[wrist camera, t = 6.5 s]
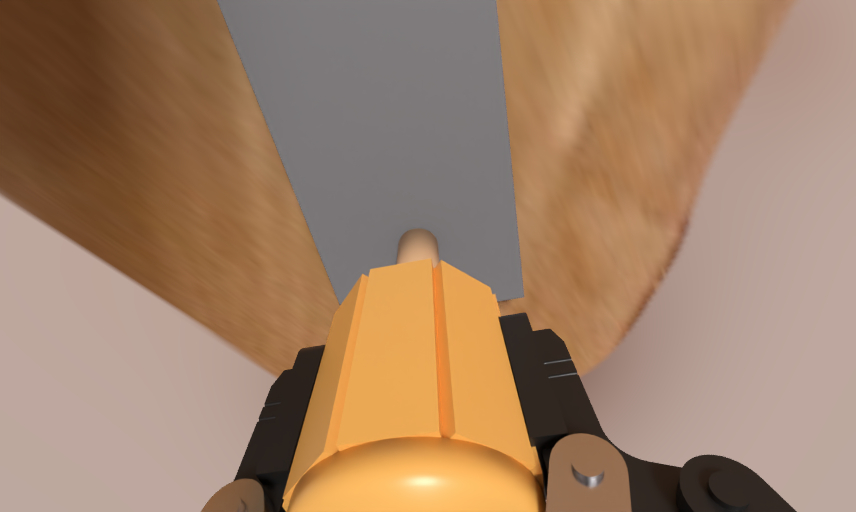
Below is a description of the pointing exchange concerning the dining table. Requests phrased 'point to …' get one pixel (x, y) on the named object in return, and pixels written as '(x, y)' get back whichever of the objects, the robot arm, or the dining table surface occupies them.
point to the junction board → (389, 130)
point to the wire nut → (415, 403)
